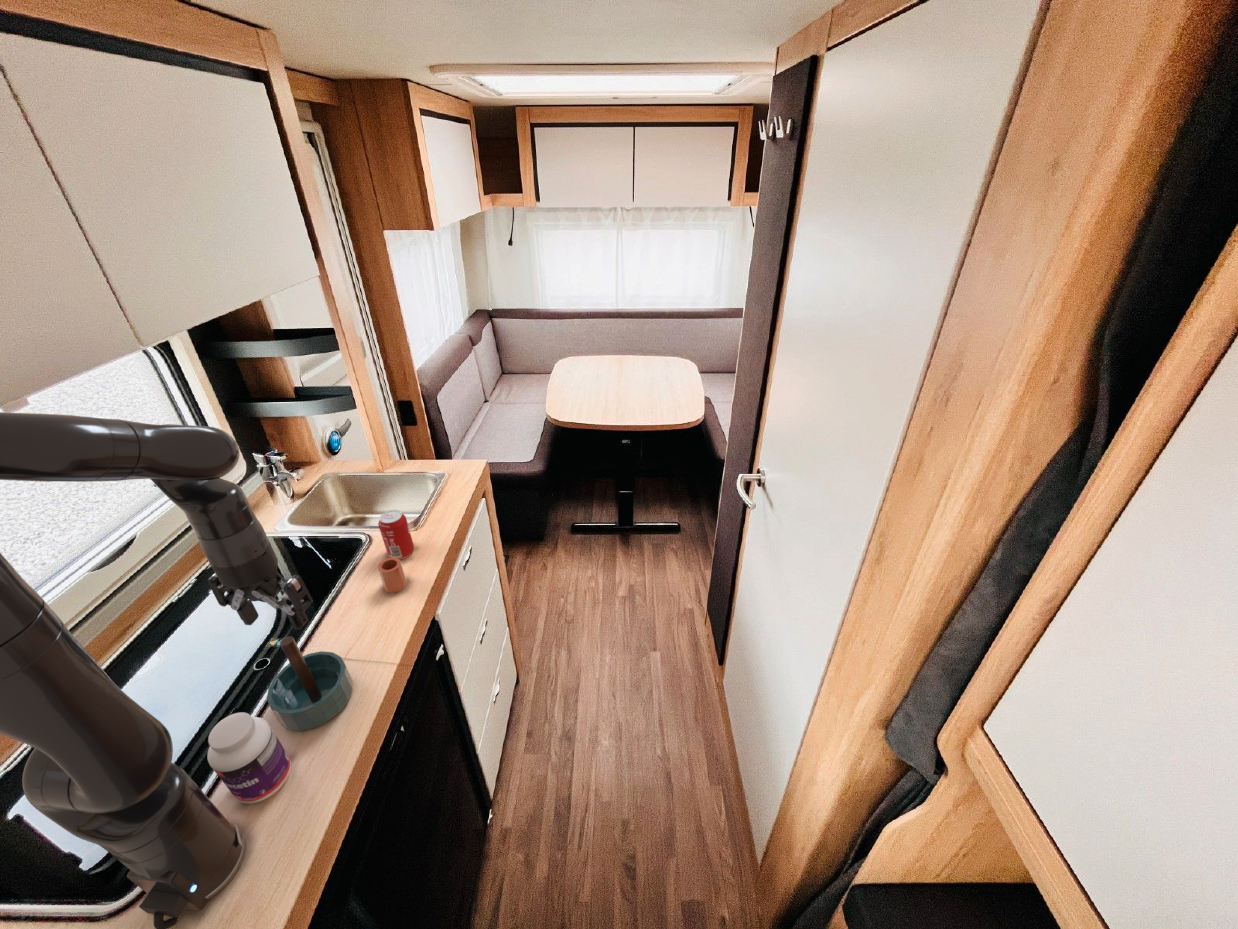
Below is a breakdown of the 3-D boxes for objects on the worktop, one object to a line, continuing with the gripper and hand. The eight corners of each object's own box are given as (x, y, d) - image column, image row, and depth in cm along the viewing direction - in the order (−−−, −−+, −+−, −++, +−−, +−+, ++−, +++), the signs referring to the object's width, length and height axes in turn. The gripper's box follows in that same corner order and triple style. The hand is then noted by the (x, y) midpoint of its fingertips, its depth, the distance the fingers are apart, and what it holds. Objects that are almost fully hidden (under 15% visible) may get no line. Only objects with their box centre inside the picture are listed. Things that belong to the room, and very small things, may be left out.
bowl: (329, 736, 89) (319, 717, 86) (263, 729, 90) (249, 709, 87) (366, 674, 99) (358, 654, 96) (306, 668, 100) (296, 648, 97)
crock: (401, 595, 117) (394, 573, 113) (381, 593, 117) (373, 571, 113) (410, 580, 121) (404, 558, 117) (391, 578, 121) (384, 556, 117)
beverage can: (420, 547, 130) (409, 510, 124) (405, 564, 125) (394, 526, 119) (398, 543, 132) (387, 506, 125) (383, 559, 126) (371, 522, 120)
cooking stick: (318, 702, 93) (288, 646, 85) (308, 701, 94) (277, 645, 85) (324, 693, 95) (295, 636, 86) (314, 691, 95) (284, 635, 87)
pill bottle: (224, 804, 80) (182, 755, 72) (258, 752, 86) (223, 702, 79) (273, 808, 79) (236, 759, 72) (304, 756, 86) (273, 706, 78)
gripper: (172, 562, 72) (219, 638, 81) (265, 570, 71) (303, 646, 79) (213, 528, 79) (253, 602, 87) (300, 535, 77) (331, 609, 86)
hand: (277, 623), depth 83 cm, fingers open, 8 cm apart
